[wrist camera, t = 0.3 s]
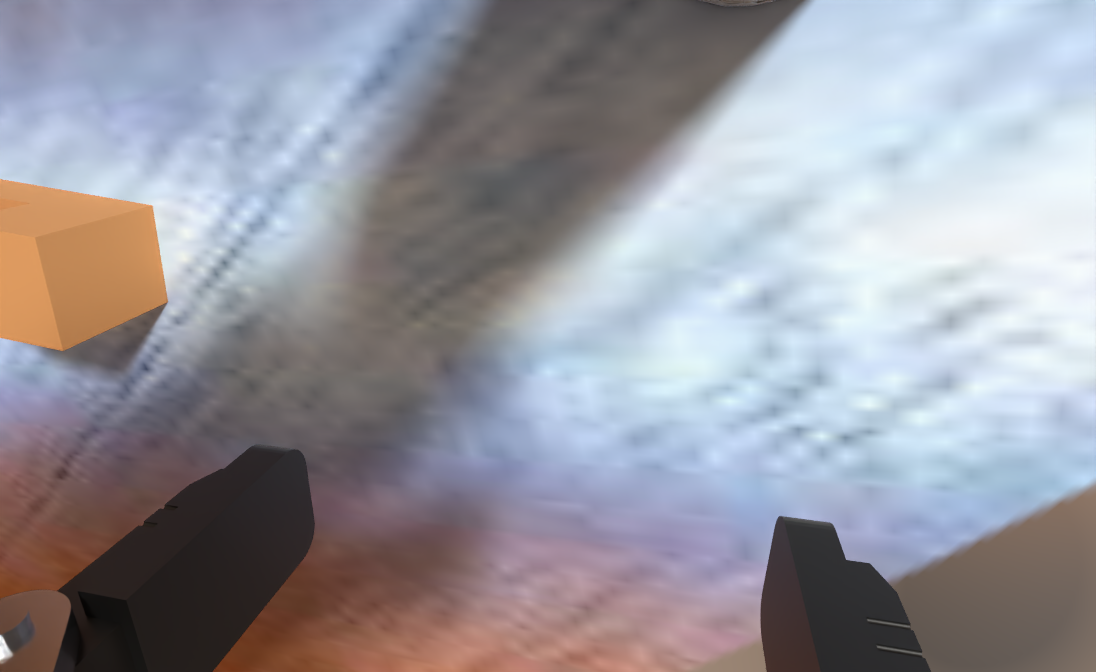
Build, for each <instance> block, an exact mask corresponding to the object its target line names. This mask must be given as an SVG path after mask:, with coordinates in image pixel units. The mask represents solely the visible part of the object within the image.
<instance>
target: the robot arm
mask: <svg viewBox="0 0 1096 672" xmlns="http://www.w3.org/2000/svg"><path fill="white" fill-rule="evenodd" d="M699 1H703V2H708V3H712V4H716V5H720V6H755V5H759V4H764V3H768V2H772V1H777V0H699ZM314 525H315V523H314V515H313V508H312V501H311V495H310V488H309V481H308V474H307V468H306V462H305V458H304V456H303V454H302V453H301V452H300V451H299V450H295V449H287V448H280V447H272V446H265V445H254V446H252V447H250V448H249V449H248V450H246V451H245V452H244V453H243V454H242V455H240V456H239V457H238V458H237V459H236V460H234V461H233V462H232V463H231V464H229V465H228V466H227V467H226V468H225V469H221V470H218V471H216V472H214V473H212V474H210V475H208V476H206V477H204V478H202V479H200V480H198V481H196V482H194V483H192V484H190V485H189V486H187V487H186V488H185V489H184V490H182V491H181V492H180V493H179V494H177V495H176V496H175V497H174V498H172V499H171V500H170V501H169V502H167V503H166V504H165V507H164V509H159V510H158V511H156V512H155V513H154V514H153V515H151V516H150V517H149V518H148V519H146V520H145V521H144V525H143V526H138V527H136V528H135V529H134V530H133V531H131V532H130V533H129V534H128V535H126V536H125V537H124V538H123V539H121V540H120V541H119V542H118V543H116V544H115V545H114V546H113V547H111V548H110V549H109V550H108V551H106V552H105V553H104V554H103V555H101V556H100V557H99V558H98V559H96V560H95V561H94V562H93V563H91V564H90V565H89V566H88V567H86V568H85V569H84V570H83V571H82V572H80V573H79V574H78V575H77V576H75V577H74V578H73V579H72V580H70V581H69V582H68V583H67V584H65V585H64V586H63V587H62V588H60V589H59V590H58V591H52V590H33V591H26V592H22V593H17V594H14V595H11V596H7V597H4V598H2V599H0V672H213V670H214V669H215V668H216V667H217V665H218V664H219V663H220V662H221V660H222V659H223V658H224V657H225V656H226V654H227V653H228V652H229V651H230V649H231V648H232V647H233V646H234V644H235V643H236V642H237V641H238V639H239V638H240V637H241V636H242V634H243V633H244V632H245V631H246V629H247V628H248V627H249V626H250V624H251V623H252V622H253V621H254V620H255V618H256V617H257V616H258V615H259V613H260V612H261V611H262V610H263V608H264V607H265V606H266V605H267V603H268V602H269V601H270V600H271V598H272V597H273V596H274V595H275V593H276V592H277V591H278V590H279V588H280V587H281V586H282V585H283V584H284V582H285V581H286V580H287V579H288V577H289V576H290V575H291V574H292V572H293V571H294V570H295V569H296V567H297V566H298V565H299V564H300V562H301V561H302V560H303V559H304V557H305V556H306V554H307V552H308V550H309V548H310V545H311V542H312V539H313V535H314ZM761 636H762V643H763V650H764V656H765V663H766V670H767V672H931V670H930V668H929V666H928V664H927V662H926V659H925V658H923V657H922V650H921V647H920V645H919V643H918V641H917V638H916V636H915V633H914V631H913V630H911V629H910V622H909V620H908V617H907V615H906V613H905V610H904V608H903V606H902V603H901V601H900V599H899V596H898V594H897V592H896V591H895V590H894V589H893V588H892V587H891V586H890V585H889V583H888V582H887V581H886V580H885V579H884V578H883V577H882V576H881V575H880V574H879V573H878V572H877V571H876V570H875V568H874V567H873V566H872V565H871V564H870V563H863V562H856V561H849V560H846V558H845V555H844V553H843V550H842V547H841V544H840V541H839V538H838V536H837V533H836V530H835V528H834V526H833V524H831V523H828V522H821V521H813V520H806V519H798V518H791V517H784V516H779V517H778V519H777V521H776V525H775V529H774V534H773V539H772V545H771V550H770V555H769V560H768V566H767V571H766V576H765V581H764V586H763V592H762V599H761Z"/></svg>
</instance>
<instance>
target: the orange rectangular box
mask: <svg viewBox="0 0 1096 672" xmlns="http://www.w3.org/2000/svg"><path fill="white" fill-rule="evenodd" d="M167 302H168V299H167V293H166V287H165V281H164V275H163V268H162V262H161V256H160V250H159V244H158V237H157V231H156V225H155V219H154V212H153V206H152V205H146V204H141V203H135V202H129V201H123V200H117V199H112V198H106V197H100V196H94V195H89V194H83V193H77V192H71V191H65V190H60V189H54V188H48V187H42V186H37V185H31V184H25V183H19V182H13V181H8V180H2V179H0V338H4V339H9V340H13V341H18V342H23V343H28V344H32V345H37V346H42V347H46V348H51V349H56V350H61V351H64V350H66V349H69V348H71V347H73V346H75V345H77V344H79V343H81V342H83V341H86V340H88V339H90V338H92V337H94V336H96V335H98V334H101V333H103V332H105V331H107V330H109V329H111V328H113V327H116V326H118V325H120V324H122V323H124V322H126V321H128V320H131V319H133V318H135V317H137V316H139V315H141V314H143V313H145V312H148V311H150V310H152V309H154V308H156V307H158V306H160V305H163V304H165V303H167Z"/></svg>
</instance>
